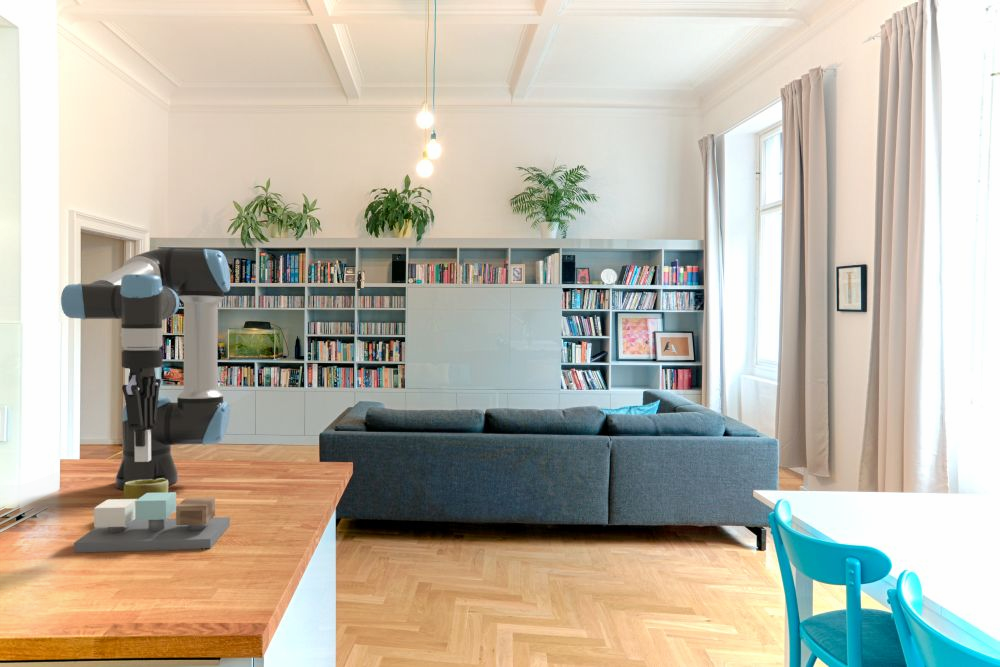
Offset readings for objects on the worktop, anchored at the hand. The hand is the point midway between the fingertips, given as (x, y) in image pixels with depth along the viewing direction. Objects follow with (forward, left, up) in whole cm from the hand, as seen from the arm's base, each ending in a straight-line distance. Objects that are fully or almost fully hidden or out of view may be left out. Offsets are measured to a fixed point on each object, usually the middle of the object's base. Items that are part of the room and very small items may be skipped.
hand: (142, 460), depth 140 cm
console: (0, +2, -17) cm, 17 cm away
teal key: (0, +2, -12) cm, 12 cm away
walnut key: (0, +10, -13) cm, 17 cm away
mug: (-18, -6, -17) cm, 26 cm away
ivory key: (0, -6, -13) cm, 14 cm away
